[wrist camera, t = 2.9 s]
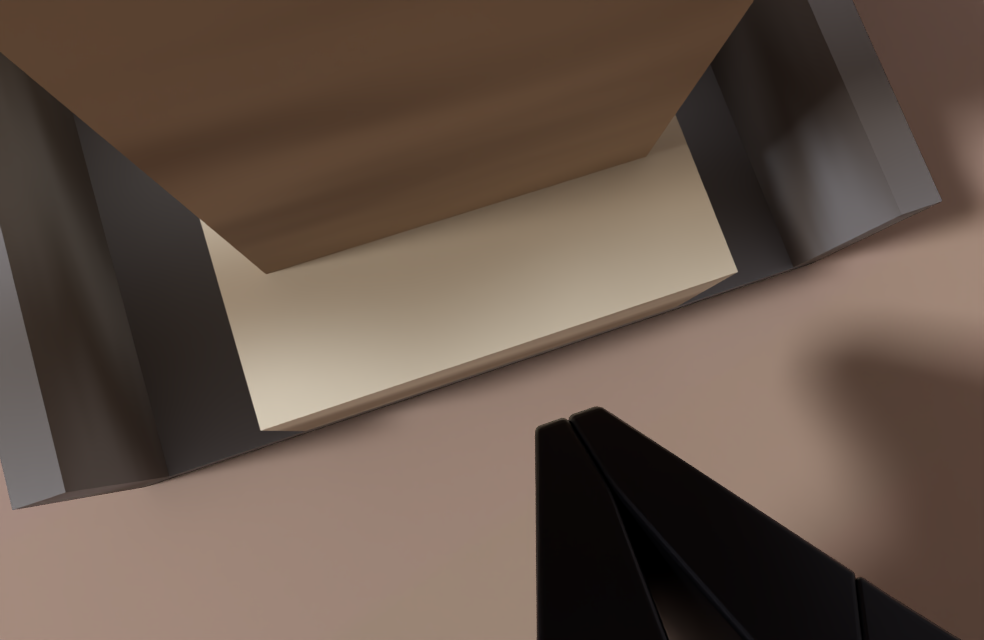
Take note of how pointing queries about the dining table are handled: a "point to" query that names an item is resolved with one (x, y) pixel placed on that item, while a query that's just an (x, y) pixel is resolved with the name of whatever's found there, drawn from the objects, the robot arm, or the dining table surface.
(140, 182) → the trap box
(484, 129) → the walnut block
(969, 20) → the dining table surface
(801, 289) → the dining table surface
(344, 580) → the dining table surface
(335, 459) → the dining table surface
